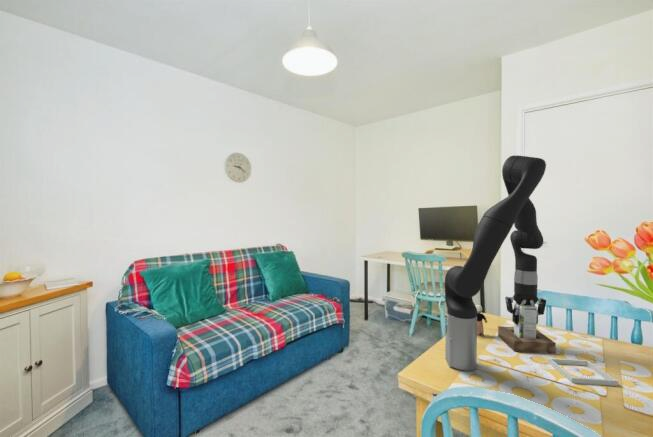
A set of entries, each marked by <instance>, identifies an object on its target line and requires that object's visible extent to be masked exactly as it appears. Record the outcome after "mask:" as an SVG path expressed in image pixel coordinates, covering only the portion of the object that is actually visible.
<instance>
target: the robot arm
mask: <svg viewBox="0 0 653 437" xmlns="http://www.w3.org/2000/svg"><path fill="white" fill-rule="evenodd" d="M546 169H547V163H546V161H545V159H543V158H540V157H533V156H525V155H510V156H509V157H507V158H506V160H505V161H504V163H503V165H502V170H501V172H502V179H503V180H502V181H503V182H504V186H505V189H506V193H507V195H508V196H507V197H505V198H503V199H502V200H500V201H499V202H497V203H496V204H494V205H493V206H491V207H490V208H488V209H487V210H486V211H485V212H484V213H483V215H482V216H481V219H480V220H479V222H478V224H477V226H476V228H475V230H474V231H475V232H474V235H473V242H472V243H473V244H472V248H471V252H470V255H469V256H468V257H467V260H466V262H465V263H464V265H462V266H461V265H455V266H452V267H450V268H449V269H448V270H447V271H446V274H445V277H444V295H445V297H444V300H445V305H446V309H447V310H446V312H447V316H446V317H447V319H446V321H447V322H446V323H447V326H446V329H447V330H446V331H445V346H444V347H445V349H444V350H445V358H444V359H445V361H446V363H447V364H448V366H449V368H454V369H457V370H460V371H464V372H465V371H466V372H467V371H468V372H469V371H474V370H476V369H477V363H478V362H477V358H478V357H477V354H478V352H477V350H478V349H477V347H478V346H477V345H478V342H477V340H478V339H477V338H478V336H477V308H476V306H475V305H476V304H475V303H474V299H473V298H474V297H475V296H476V295H477V294H479V292H480V291H481V289H482V287H483V284H484V282H485V281H486V280H485V279H486V278H487V275H488V273H489V270H490V267H491V265H492V264H493V262H494V260H495V258H496V256H497V255H498V253H499V250H500V249H501V247H502V246H503V244H504V242H505V240H506V239H507V237H508V235H509V233H510V232H511V229H512V228H513V225H514V227H515V229H516V230H513V231H512V232H511V233H510V238H509V239H510V243H511V247H512V249H513V254H514V259H515V262H514V263H515V265H514V267H515V269H514V275H513V276H514V277H513V282H514V283H513V290H514V291H513V292H514V294H513V296H510V297H509V296H505V297H504V298H505V306H506V311H507V312H508V313H510V314H511V315H512V320H511V321H512V322H513V324H514V323H515V324H516V325H518V320H519V316H518V314H519V310H520V306H524V305H531V306H535V307H537V324H536V325H538V324H539V316H541V315H542V316H543V315H544V314H545V310H546V305H547V300H546V299H544V298H543V297H540V298H539V297H538V279H539V278H538V258H537V256H535V255H533V254H529V253H527V252H526V253H525V252H524V251H523V250H522V249H529V250H538V249H540V248H541V247H543V244H544V237H543V234H542V232H541V230H540V228H539V225H538V223H537V222H538V221H537V219H538V218H537V210H536V207H535V204H534V203H533V201H532V200H531V199H530V198H531V195H532V194H533V193H534V191H535V190H536V188H537V187H538V185H539V183H540V182H541V180H542V179H543V176H544V174H545V172H546ZM515 302H516V303H515ZM513 303H514V305H513ZM537 303H538V305H537V306H536V304H537ZM517 304H518V305H519V307H517Z"/></svg>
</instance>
